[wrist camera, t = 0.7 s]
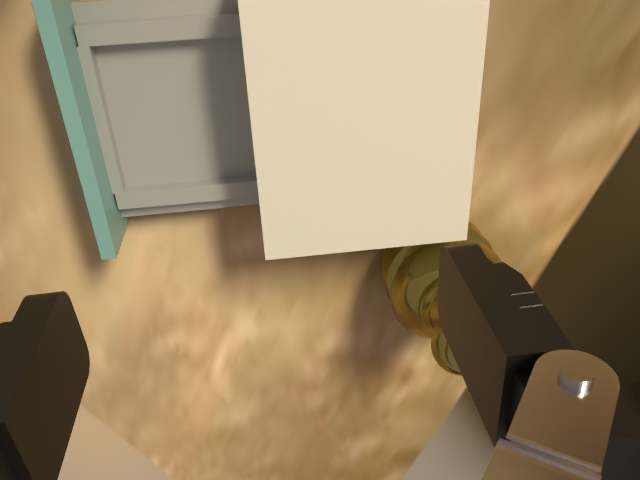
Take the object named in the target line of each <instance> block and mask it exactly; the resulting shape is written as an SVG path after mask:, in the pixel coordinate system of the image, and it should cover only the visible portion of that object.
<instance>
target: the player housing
mask: <svg viewBox="0 0 640 480" xmlns="http://www.w3.org/2000/svg"><path fill="white" fill-rule="evenodd" d="M489 4H490V0H238V8H239V17H240V26H241V36H242V45H243V54H244V64H245V73H246V82H247V92H248V101H249V111H250V120H251V129H252V139H253V148H254V157H255V167H256V176H257V185H258V195H259V204H260V214H261V223H262V232H263V242H264V251H265V260H272V259H282V258H292V257H302V256H312V255H322V254H332V253H342V252H352V251H362V250H372V249H382V248H392V247H402V246H412V245H422V244H432V243H442V242H452V241H462V240H467V232H468V222H469V212H470V201H471V191H472V180H473V170H474V160H475V149H476V139H477V129H478V118H479V108H480V98H481V87H482V77H483V66H484V56H485V46H486V35H487V25H488V15H489Z"/></svg>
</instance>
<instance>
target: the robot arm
mask: <svg viewBox="0 0 640 480" xmlns="http://www.w3.org/2000/svg"><path fill="white" fill-rule="evenodd" d="M437 306H438V316H439V321H440V325H441V329H442V331H443V334H444V336H445V338H446V340H447V343H448V345H449V347H450V349H451V352H452V354H453V356H454V358H455V361H456V363H457V365H458V367H459V369H460V372H461V374H462V376H463V378H464V381H465V383H466V385H467V387H468V390H469V392H470V394H471V396H472V399H473V401H474V403H475V405H476V407H477V410H478V412H479V414H480V416H481V418H482V421H483V423H484V425H485V428H486V430H487V432H488V434H489V436H490V439H491V441H492V443H493V445H494V451H493V453H492V456H491V458H490V461H489V463H488V465H487V468H486V470H485V473H484V475H483V478H482V480H640V381H634V380H628V379H622V378H618V377H617V375H616V374H615V372H614V371H613V370H612V369H611V367H610V366H609V365H607V364H606V363H605V362H603V361H602V360H600V359H598V358H596V357H595V356H592V355H590V354H587V353H584V352H580V351H576V350H575V348H574V347H573V345H572V344H571V342H570V341H569V340H568V338H567V337H566V335H565V334H564V333H563V331H562V330H561V328H560V327H559V326H558V324H557V323H556V321H555V320H554V319H553V317H552V316H551V314H550V313H549V311H548V310H547V309H546V307H545V306H543V305H542V302H541V300H540V299H539V298H538V296H537V295H536V293H534V292H533V289H532V288H531V286H530V285H529V283H528V282H527V281H526V279H525V278H524V276H523V275H522V274H521V273H519V272H517V271H516V270H514V269H513V268H511V267H510V266H508V265H507V264H505V263H504V262H501V263H493V264H491V263H490V261H489V260H488V258H487V257H486V255H485V254H484V252H483V251H482V249H481V247H480V246H479V245H478V244H477V243H469V244H461V245H453V246H445V247H442V248H441V251H440V259H439V280H438V301H437ZM89 366H90V362H89V352H88V348H87V344H86V342H85V339H84V336H83V333H82V330H81V328H80V325H79V322H78V319H77V316H76V314H75V311H74V308H73V305H72V302H71V300H70V298H69V296H68V294H67V293H66V292H64V291H62V292H53V293H45V294H37V295H28V296H26V297H25V298H24V299H23V300H22V302H21V304H20V306H19V308H18V310H17V312H16V314H15V316H14V318H13V320H12V322H3V323H1V324H0V480H57V479H58V476H59V472H60V469H61V466H62V462H63V459H64V456H65V452H66V449H67V445H68V442H69V439H70V436H71V432H72V429H73V425H74V422H75V419H76V415H77V412H78V409H79V405H80V402H81V399H82V395H83V392H84V389H85V385H86V382H87V379H88V375H89Z"/></svg>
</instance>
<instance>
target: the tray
mask: <svg viewBox="0 0 640 480" xmlns="http://www.w3.org/2000/svg"><path fill="white" fill-rule="evenodd" d="M31 3H32V7H33V11H34V14H35V18H36V21H37V25H38V29H39V32H40V36H41V40H42V43H43V47H44V51H45V54H46V58H47V62H48V65H49V69H50V73H51V76H52V80H53V84H54V87H55V91H56V95H57V98H58V102H59V106H60V109H61V113H62V116H63V120H64V124H65V127H66V131H67V135H68V138H69V142H70V146H71V149H72V153H73V157H74V160H75V164H76V168H77V171H78V175H79V179H80V182H81V186H82V190H83V193H84V197H85V201H86V204H87V208H88V211H89V215H90V219H91V222H92V226H93V230H94V233H95V237H96V241H97V244H98V248H99V252H100V255H101V259H102V260H104V259H114V258H117V255H118V252H119V249H120V246H121V243H122V240H123V237H124V234H125V231H126V228H127V225H128V218H127V217H130V216H140V215H151V214H162V213H173V212H184V211H194V210H205V209H216V208H227V207H237V206H248V205H259V195H258V185H257V176H256V167H255V157H254V148H253V139H252V129H251V120H250V111H249V101H248V92H247V82H246V73H245V64H244V54H243V45H242V36H241V26H240V17H239V8H238V0H87V1H76V0H31Z"/></svg>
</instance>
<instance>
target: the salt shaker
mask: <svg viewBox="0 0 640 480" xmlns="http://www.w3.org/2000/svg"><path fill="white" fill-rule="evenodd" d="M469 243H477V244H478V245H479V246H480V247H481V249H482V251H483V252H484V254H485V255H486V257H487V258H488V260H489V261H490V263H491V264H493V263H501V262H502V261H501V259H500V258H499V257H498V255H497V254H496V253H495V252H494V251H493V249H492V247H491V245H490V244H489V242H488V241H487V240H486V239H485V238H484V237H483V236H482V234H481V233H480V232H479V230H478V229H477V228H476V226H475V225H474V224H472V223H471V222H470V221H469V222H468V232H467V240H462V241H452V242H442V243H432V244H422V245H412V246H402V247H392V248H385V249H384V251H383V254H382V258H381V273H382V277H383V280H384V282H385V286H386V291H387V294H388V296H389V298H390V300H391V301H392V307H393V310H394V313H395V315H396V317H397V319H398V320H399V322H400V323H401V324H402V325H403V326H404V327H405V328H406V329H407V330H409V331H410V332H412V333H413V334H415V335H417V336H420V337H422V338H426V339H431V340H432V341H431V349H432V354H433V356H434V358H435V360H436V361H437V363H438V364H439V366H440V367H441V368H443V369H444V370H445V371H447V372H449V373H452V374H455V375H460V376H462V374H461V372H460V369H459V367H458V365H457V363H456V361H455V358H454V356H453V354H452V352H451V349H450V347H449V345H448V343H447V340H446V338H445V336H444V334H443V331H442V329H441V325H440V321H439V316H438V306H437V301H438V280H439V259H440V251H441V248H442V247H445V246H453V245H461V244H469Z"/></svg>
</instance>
